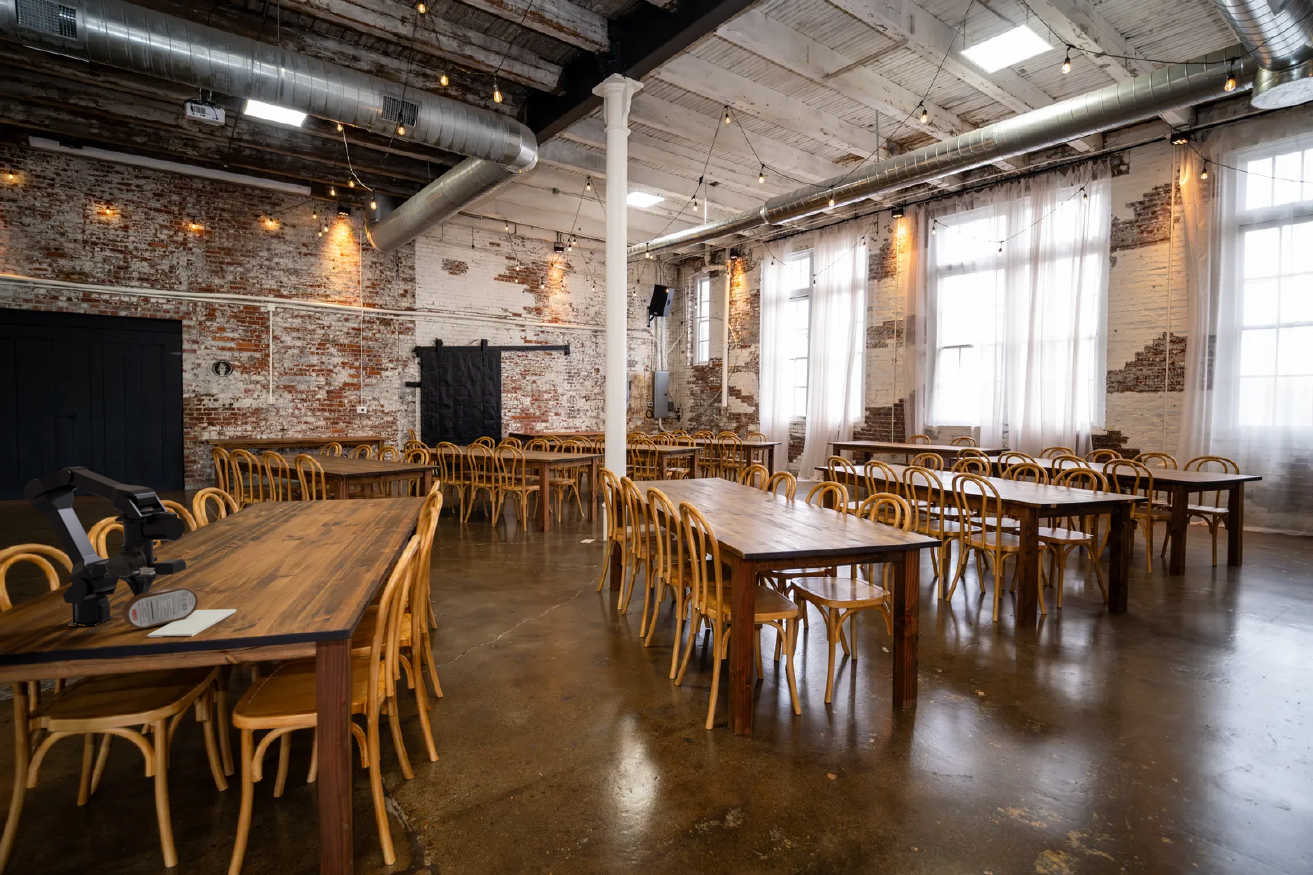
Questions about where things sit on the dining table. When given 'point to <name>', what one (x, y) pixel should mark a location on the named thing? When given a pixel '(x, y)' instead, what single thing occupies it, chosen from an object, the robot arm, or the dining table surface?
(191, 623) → the mat
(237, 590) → the dining table surface
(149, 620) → the brown oval food container
